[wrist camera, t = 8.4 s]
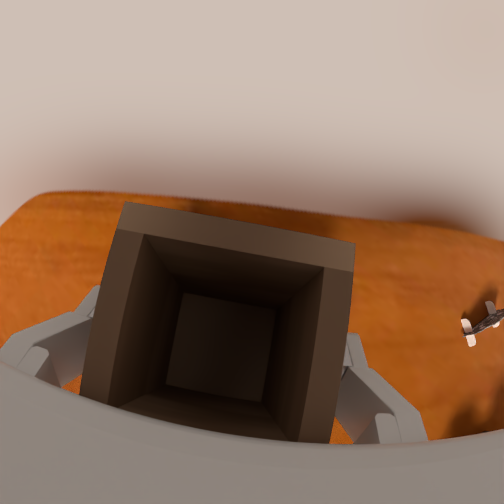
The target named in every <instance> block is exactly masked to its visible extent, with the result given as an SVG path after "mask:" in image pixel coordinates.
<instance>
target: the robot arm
mask: <svg viewBox="0 0 504 504" xmlns="http://www.w3.org/2000/svg"><path fill="white" fill-rule="evenodd" d="M99 289H100V285H96V286H94V287H93V288H92V290H91V291H90V292H89V293H88V295H87V296H86V297H85V298H84V300H83V301H82V302H81V303H80V305H79V306H78V307H77V308H76V310H75V311H74V312H70V311H69V312H67V313H64V314H62V315H59V316H57V317H54V318H52V319H49V320H47V321H44V322H42V323H39V324H37V325H34V326H32V327H29V328H27V329H24V330H22V331H19V332H17V333H15V334H12V336H11V337H10V338H9V339H8V340H7V342H6V343H5V344H4V345H3V347H2V348H1V349H0V504H504V429H500V430H496V431H491V432H486V433H480V434H475V435H469V436H462V437H455V438H448V439H440V440H431V441H428V438H427V435H426V431H425V428H424V425H423V422H422V419H421V416H420V413H419V411H418V410H416V409H415V408H414V407H413V406H412V405H411V404H410V403H409V402H408V401H407V400H406V399H405V398H404V397H403V396H401V395H400V394H399V393H398V392H397V391H396V390H395V389H394V388H393V387H392V386H391V385H390V384H389V383H388V382H386V381H385V380H384V379H383V378H382V377H381V376H380V375H379V374H378V373H377V372H376V371H375V370H374V369H371V368H368V364H367V361H366V357H365V354H364V350H363V347H362V344H361V340H360V337H359V335H358V334H357V333H348V332H347V340H346V348H345V355H344V362H343V369H342V375H341V382H340V388H339V394H338V400H337V405H336V411H335V417H336V418H337V420H338V421H339V422H340V424H341V425H342V427H343V428H344V429H345V431H346V432H347V434H348V435H349V436H350V438H351V439H352V441H353V442H354V443H353V444H321V443H303V442H290V441H279V440H269V439H260V438H252V437H245V436H238V435H232V434H225V433H219V432H214V431H208V430H203V429H198V428H193V427H188V426H184V425H179V424H175V423H171V422H166V421H162V420H158V419H154V418H151V417H147V416H143V415H140V414H136V413H132V412H129V411H126V410H122V409H119V408H116V407H113V406H110V405H106V404H103V403H100V402H97V401H95V400H92V399H89V398H86V397H83V396H80V395H78V394H75V393H72V392H70V391H67V390H65V389H62V388H61V387H62V386H64V385H66V384H67V383H69V382H70V381H72V380H73V379H75V378H76V377H78V376H79V375H81V374H82V373H83V366H84V361H85V355H86V349H87V344H88V339H89V334H90V329H91V324H92V319H93V315H94V310H95V306H96V301H97V297H98V293H99Z"/></svg>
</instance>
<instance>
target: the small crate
mask: <svg viewBox="0 0 504 504" xmlns="http://www.w3.org/2000/svg"><path fill="white" fill-rule="evenodd" d="M354 259H355V243H351V242H346V241H341V240H336V239H331V238H326V237H321V236H316V235H311V234H306V233H301V232H296V231H291V230H286V229H280V228H275V227H270V226H265V225H259V224H254V223H248V222H243V221H238V220H232V219H226V218H221V217H215V216H210V215H204V214H198V213H192V212H187V211H181V210H175V209H169V208H163V207H157V206H151V205H145V204H138V203H132V202H126V201H125V204H124V207H123V210H122V213H121V216H120V219H119V222H118V225H117V228H116V231H115V235H114V238H113V241H112V245H111V248H110V252H109V255H108V259H107V262H106V266H105V270H104V273H103V277H102V281H101V285H100V289H99V293H98V297H97V301H96V306H95V310H94V315H93V319H92V324H91V329H90V334H89V339H88V344H87V349H86V355H85V361H84V366H83V373H82V379H81V386H80V393H79V395H80V396H83V397H86V398H89V399H92V400H95V401H97V402H100V403H103V404H106V405H110V406H113V407H116V408H119V409H122V410H126V411H129V412H132V413H136V414H140V415H143V416H147V417H151V418H154V419H158V420H162V421H166V422H171V423H175V424H179V425H184V426H188V427H193V428H198V429H203V430H208V431H214V432H219V433H225V434H232V435H238V436H245V437H252V438H260V439H269V440H279V441H290V442H303V443H321V444H329V441H330V436H331V431H332V426H333V421H334V416H335V411H336V405H337V400H338V394H339V388H340V382H341V375H342V369H343V362H344V355H345V348H346V340H347V332H348V324H349V315H350V306H351V295H352V284H353V272H354Z"/></svg>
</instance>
